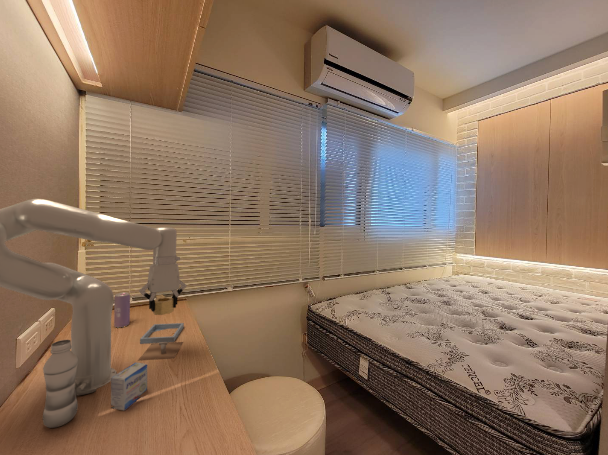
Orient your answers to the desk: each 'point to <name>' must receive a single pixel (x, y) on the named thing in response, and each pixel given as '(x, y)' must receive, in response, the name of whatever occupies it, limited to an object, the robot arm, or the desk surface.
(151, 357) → the board
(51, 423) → the plastic bottle
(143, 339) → the tray
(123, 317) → the beverage can
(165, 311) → the ring
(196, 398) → the desk surface
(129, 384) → the medicine box
